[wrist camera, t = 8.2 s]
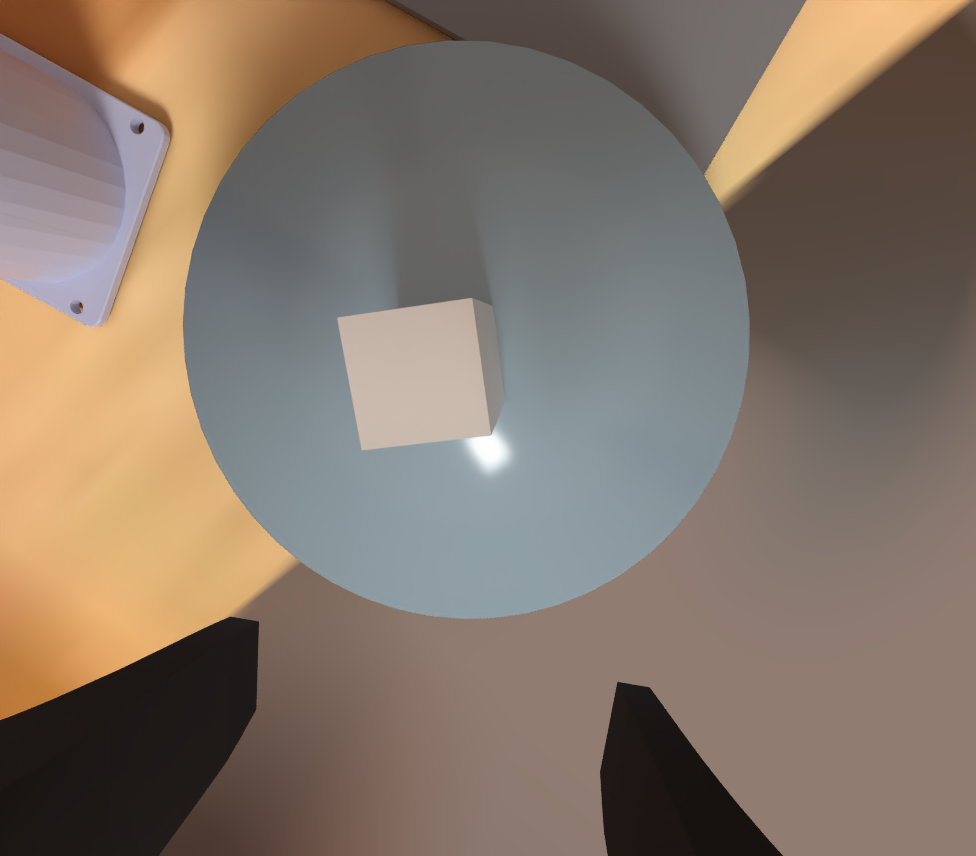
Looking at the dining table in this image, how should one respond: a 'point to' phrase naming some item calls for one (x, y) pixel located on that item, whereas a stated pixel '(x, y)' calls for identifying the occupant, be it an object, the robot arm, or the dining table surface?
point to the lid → (466, 329)
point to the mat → (641, 49)
